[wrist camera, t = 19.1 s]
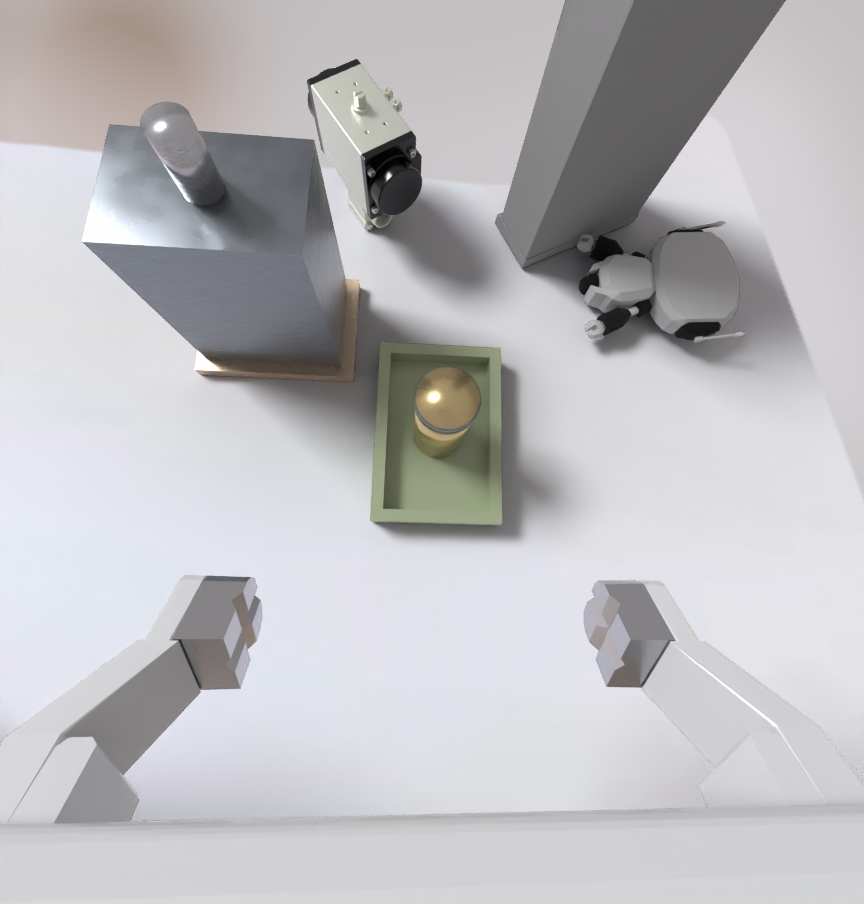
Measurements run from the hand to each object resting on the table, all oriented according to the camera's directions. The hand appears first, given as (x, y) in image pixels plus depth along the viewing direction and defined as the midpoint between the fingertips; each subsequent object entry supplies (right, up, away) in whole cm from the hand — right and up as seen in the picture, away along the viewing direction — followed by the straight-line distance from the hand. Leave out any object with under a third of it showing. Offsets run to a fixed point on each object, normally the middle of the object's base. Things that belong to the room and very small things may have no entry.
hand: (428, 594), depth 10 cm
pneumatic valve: (-6, +29, +34) cm, 45 cm away
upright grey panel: (+14, +28, +35) cm, 47 cm away
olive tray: (+1, +5, +29) cm, 30 cm away
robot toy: (+22, +19, +34) cm, 45 cm away
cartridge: (+1, +5, +28) cm, 29 cm away
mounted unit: (-14, +15, +31) cm, 37 cm away
